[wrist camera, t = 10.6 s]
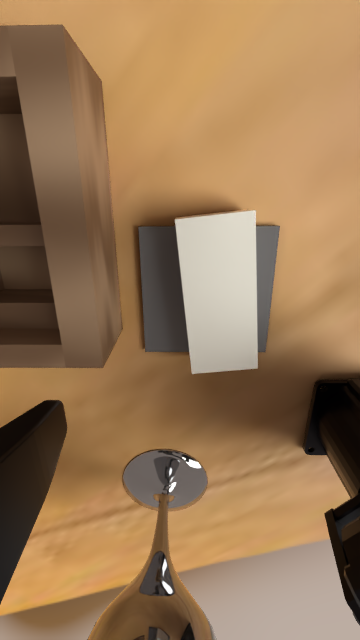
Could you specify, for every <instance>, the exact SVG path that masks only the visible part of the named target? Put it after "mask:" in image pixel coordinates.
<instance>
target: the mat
mask: <svg viewBox="0 0 360 640" xmlns="http://www.w3.org/2000/svg"><path fill="white" fill-rule="evenodd" d="M279 229H280V226H256V270H257V340H258V352H265V351H266V342H267V334H268V325H269V316H270V307H271V299H272V290H273V281H274V272H275V264H276V255H277V246H278V238H279ZM139 245H140V263H141V281H142V299H143V317H144V336H145V352H189V343H188V334H187V325H186V316H185V307H184V298H183V289H182V280H181V271H180V262H179V253H178V244H177V234H176V226H139Z"/></svg>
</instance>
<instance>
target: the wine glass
mask: <svg viewBox="0 0 360 640" xmlns="http://www.w3.org/2000/svg"><path fill="white" fill-rule="evenodd" d="M123 484H124V488H125V490H126V492H127V493H128V495H129V496H130V497H131V498H132V499H133V500H134V501H135V502H137V503H138V504H139V505H141V506H143V507H146V508H148V509H151V510H156V511H158V516H157V523H156V529H155V534H154V539H153V543H152V548H151V551H150V555H149V557H148V559H147V561H146V563H145V565H144V567H143V568H142V570H141V571H140V572H139V574H138V575H137V576H136V578H135V579H134V580H133V581H132V582H131V583H130V584H129V585H128V586H127V587H126V588H125V589H124V590H123V591H122V592H121V593H120V594H119V595H118V596H117V597H116V598H115V599H114V600H113V601H112V602H111V604H110V605H109V606H108V607H107V608H106V610H105V611H104V612H103V613H102V615H101V616H100V617H99V619H98V620H97V622H96V623H95V625H94V627H93V629H92V631H91V633H90V635H89V637H88V639H87V640H216V637H215V634H214V631H213V628H212V626H211V624H210V622H209V621H208V619H207V617H206V615H205V614H204V612H203V610H202V609H201V608H200V606H199V605H198V604H197V602H196V601H195V599H194V598H193V597H192V596H191V594H190V593H189V591H188V590H187V589H186V587H185V586H184V585H183V583H182V582H181V580H180V578H179V577H178V575H177V573H176V571H175V569H174V566H173V564H172V561H171V557H170V551H169V540H168V511H178V510H182V509H185V508H188V507H190V506H192V505H193V504H195V503H196V502H198V501H199V500H200V499H201V498H202V496H203V495H204V493H205V491H206V489H207V484H208V479H207V474H206V472H205V470H204V468H203V466H202V465H201V464H200V463H199V462H198V461H197V460H195V459H194V458H193V457H191V456H189V455H187V454H185V453H182V452H179V451H175V450H167V449H160V450H152V451H148V452H145V453H142V454H140V455H139V456H137V457H135V458H134V459H133V460H131V462H130V463H129V464H128V465H127V467H126V468H125V470H124V474H123Z"/></svg>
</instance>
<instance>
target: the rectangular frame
mask: <svg viewBox="0 0 360 640" xmlns="http://www.w3.org/2000/svg"><path fill="white" fill-rule="evenodd" d="M122 329H123V328H122V317H121V305H120V293H119V281H118V269H117V258H116V246H115V234H114V222H113V210H112V198H111V187H110V175H109V163H108V151H107V139H106V128H105V116H104V104H103V92H102V81H101V79H100V78H99V77H98V75H97V74H96V72H95V71H94V69H93V68H92V66H91V65H90V64H89V62H88V61H87V59H86V58H85V56H84V55H83V53H82V52H81V51H80V49H79V48H78V46H77V45H76V43H75V42H74V40H73V39H72V38H71V36H70V35H69V33H68V32H67V30H66V29H65V27H64V26H63V25H14V26H0V368H103V367H104V365H105V363H106V361H107V359H108V357H109V355H110V353H111V351H112V349H113V347H114V345H115V343H116V341H117V339H118V337H119V335H120V333H121V331H122Z"/></svg>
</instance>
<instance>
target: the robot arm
mask: <svg viewBox="0 0 360 640" xmlns="http://www.w3.org/2000/svg"><path fill="white" fill-rule="evenodd" d="M322 386H325V387H324V388H322V389H320V388H321V387H322ZM66 433H67V422H66V417H65V412H64V406H63V403H62V402H61V401H60V400H46V401H43V402H42V403H40V404H38V405H37V406H35V407H34V408H32V409H30V410H29V411H27V412H25V413H24V414H22V415H21V416H19V417H17V418H16V419H14V420H13V421H11V422H9V423H8V424H6V425H4V426H3V427H1V428H0V604H1V601H2V599H3V597H4V594H5V592H6V590H7V587H8V585H9V583H10V580H11V578H12V575H13V573H14V571H15V568H16V566H17V564H18V561H19V559H20V557H21V554H22V552H23V550H24V547H25V545H26V543H27V540H28V538H29V536H30V533H31V531H32V529H33V526H34V524H35V522H36V519H37V517H38V515H39V512H40V510H41V508H42V505H43V503H44V501H45V498H46V496H47V493H48V490H49V487H50V485H51V482H52V478H53V475H54V472H55V469H56V466H57V462H58V459H59V456H60V453H61V449H62V446H63V443H64V440H65V437H66ZM311 447H312V448H311ZM303 449H304V451H305V453H306V454H308V455H327V456H328V458H329V460H330V462H331V464H332V465H333V467H334V469H335V471H336V473H337V474H338V476H339V478H340V480H341V482H342V483H343V485H344V487H345V489H346V491H347V492H348V494H349V496H350V498H351V499H349V500H348V501H346V502H345V503H343V504H342V505H340V506H339V507H337V508H335V509H330V510H329V511H327V512H326V513H324V514H325V518H326V522H327V527H328V532H329V536H330V540H331V544H332V548H333V552H334V556H335V560H336V564H337V568H338V572H339V576H340V580H341V584H342V588H343V592H344V596H345V599H346V601H347V604H348V605H349V607H350V608H351V610H352V611H353V615H354V617H355V619H356V621H357V622H358V624H359V625H360V379H350V380H319V381H317V382H316V383H315V385H314V390H313V395H312V400H311V405H310V410H309V416H308V421H307V426H306V431H305V436H304V442H303Z"/></svg>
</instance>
